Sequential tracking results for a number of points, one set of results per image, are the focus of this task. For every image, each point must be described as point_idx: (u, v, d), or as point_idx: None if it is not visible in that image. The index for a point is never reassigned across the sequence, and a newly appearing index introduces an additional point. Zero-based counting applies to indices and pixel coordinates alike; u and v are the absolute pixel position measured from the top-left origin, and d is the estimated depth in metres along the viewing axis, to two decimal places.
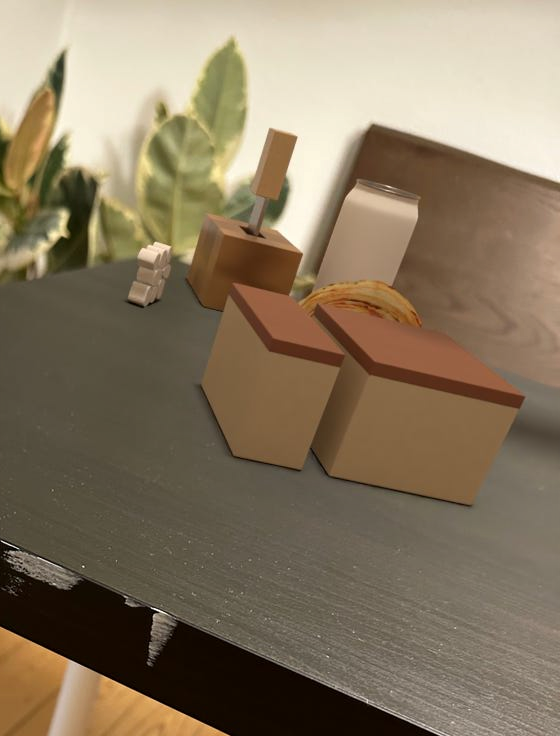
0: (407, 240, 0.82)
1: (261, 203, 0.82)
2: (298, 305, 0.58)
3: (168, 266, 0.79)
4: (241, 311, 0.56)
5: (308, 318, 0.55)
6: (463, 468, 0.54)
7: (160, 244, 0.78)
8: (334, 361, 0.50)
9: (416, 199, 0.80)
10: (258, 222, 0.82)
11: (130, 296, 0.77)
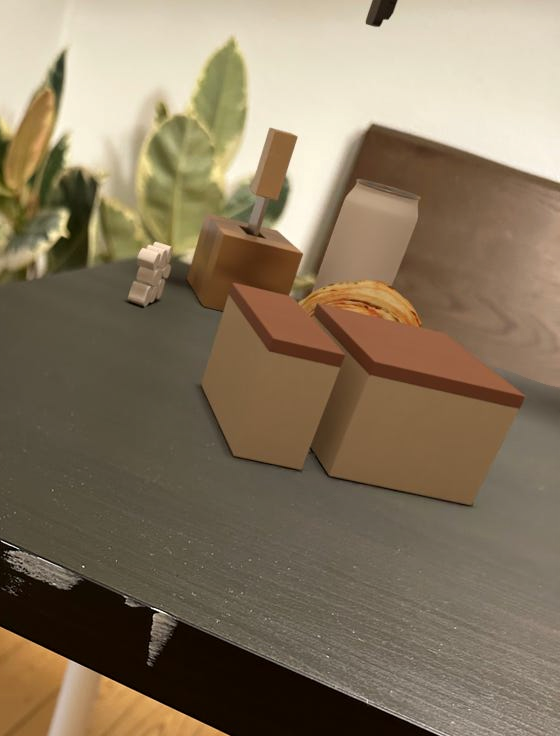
0: (407, 240, 0.82)
1: (261, 203, 0.82)
2: (298, 305, 0.58)
3: (168, 266, 0.79)
4: (241, 311, 0.56)
5: (308, 318, 0.55)
6: (463, 468, 0.54)
7: (160, 244, 0.78)
8: (334, 361, 0.50)
9: (416, 199, 0.80)
10: (258, 222, 0.82)
11: (130, 296, 0.77)
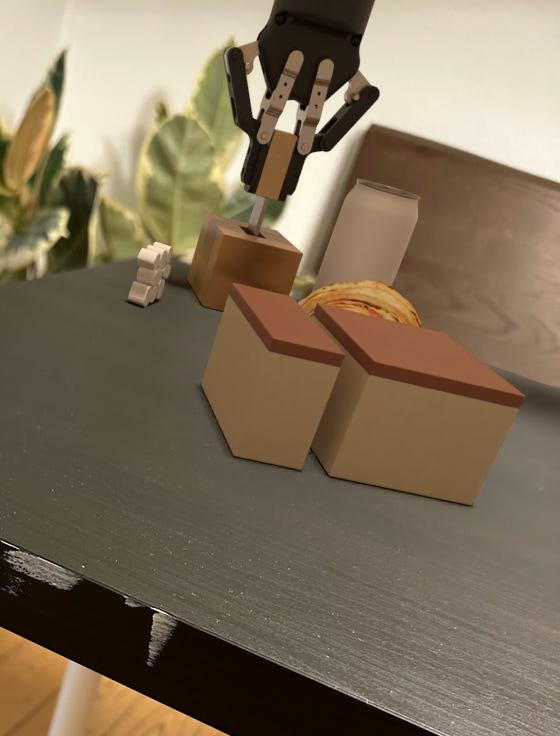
0: (407, 240, 0.82)
1: (261, 203, 0.82)
2: (298, 305, 0.58)
3: (168, 266, 0.79)
4: (241, 311, 0.56)
5: (308, 318, 0.55)
6: (463, 468, 0.54)
7: (160, 244, 0.78)
8: (334, 361, 0.50)
9: (416, 199, 0.80)
10: (258, 222, 0.82)
11: (130, 296, 0.77)
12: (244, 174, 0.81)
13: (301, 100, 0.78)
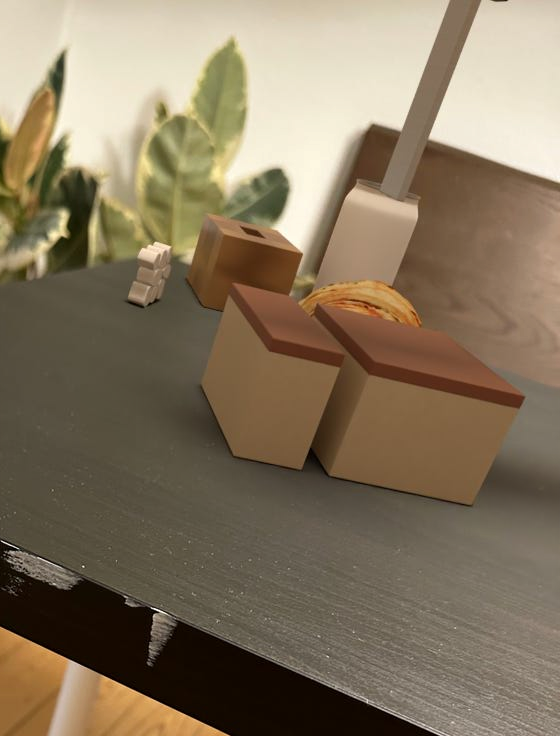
0: (407, 240, 0.82)
1: (466, 3, 0.44)
2: (298, 305, 0.58)
3: (168, 266, 0.79)
4: (241, 311, 0.56)
5: (308, 318, 0.55)
6: (463, 468, 0.54)
7: (160, 244, 0.78)
8: (334, 361, 0.50)
9: (416, 199, 0.80)
10: (459, 39, 0.44)
11: (130, 296, 0.77)
12: None
13: None
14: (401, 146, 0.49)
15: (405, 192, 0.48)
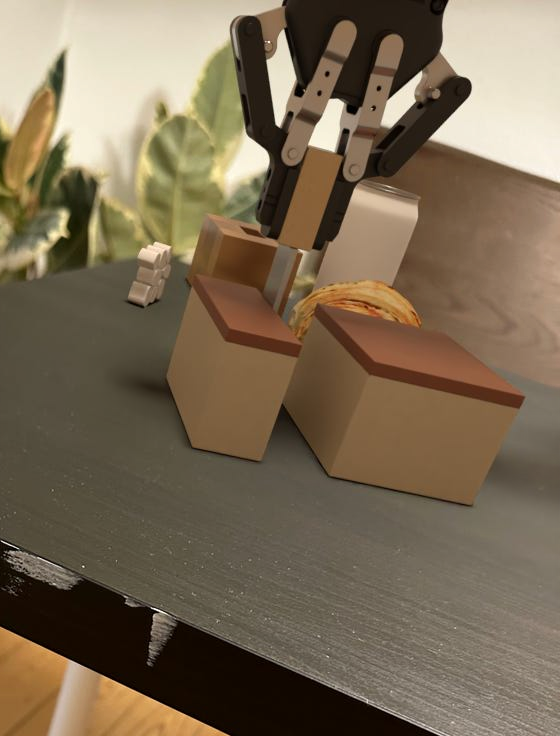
0: (407, 240, 0.82)
1: (286, 255, 0.55)
2: (261, 296, 0.58)
3: (168, 266, 0.79)
4: (202, 302, 0.56)
5: (269, 309, 0.55)
6: (463, 468, 0.54)
7: (160, 244, 0.78)
8: (291, 351, 0.50)
9: (416, 199, 0.80)
10: (281, 284, 0.55)
11: (130, 296, 0.77)
12: (261, 210, 0.54)
13: (351, 99, 0.51)
14: None
15: None
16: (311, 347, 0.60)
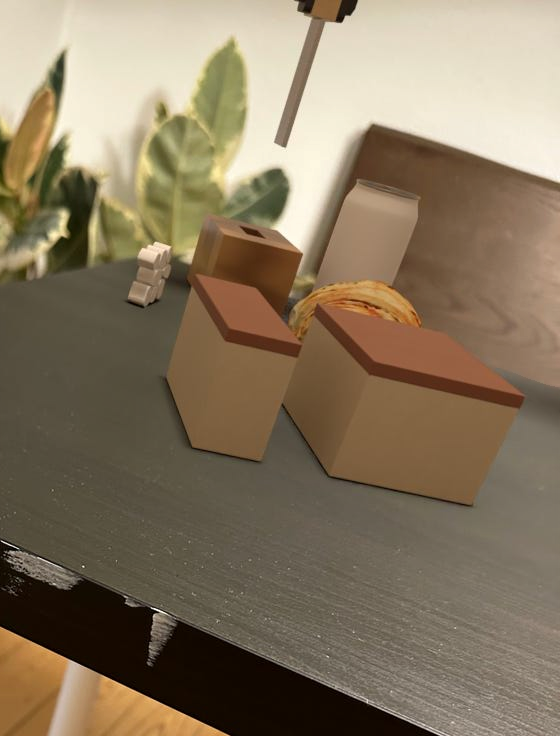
0: (407, 240, 0.82)
1: (316, 26, 0.74)
2: (261, 296, 0.58)
3: (168, 266, 0.79)
4: (202, 302, 0.56)
5: (269, 309, 0.55)
6: (463, 468, 0.54)
7: (160, 244, 0.78)
8: (291, 351, 0.50)
9: (416, 199, 0.80)
10: (313, 47, 0.74)
11: (130, 296, 0.77)
12: None
13: None
14: (285, 113, 0.79)
15: (286, 141, 0.78)
16: (311, 347, 0.60)
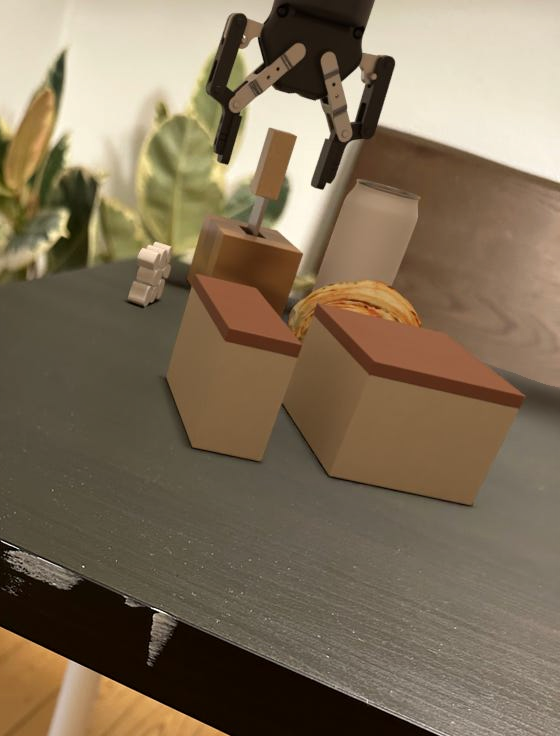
0: (407, 240, 0.82)
1: (260, 203, 0.82)
2: (261, 296, 0.58)
3: (168, 266, 0.79)
4: (202, 302, 0.56)
5: (269, 309, 0.55)
6: (463, 468, 0.54)
7: (160, 244, 0.78)
8: (291, 351, 0.50)
9: (416, 199, 0.80)
10: (257, 222, 0.82)
11: (130, 296, 0.77)
12: (217, 144, 0.80)
13: (303, 93, 0.78)
14: None
15: None
16: (311, 347, 0.60)
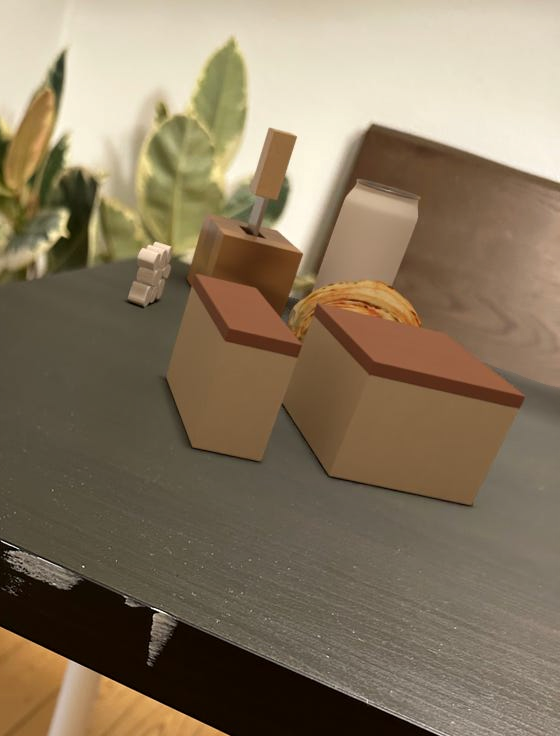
0: (407, 240, 0.82)
1: (260, 203, 0.82)
2: (261, 296, 0.58)
3: (168, 266, 0.79)
4: (202, 302, 0.56)
5: (269, 309, 0.55)
6: (463, 468, 0.54)
7: (160, 244, 0.78)
8: (291, 351, 0.50)
9: (416, 199, 0.80)
10: (257, 222, 0.82)
11: (130, 296, 0.77)
12: None
13: None
14: None
15: None
16: (311, 347, 0.60)
